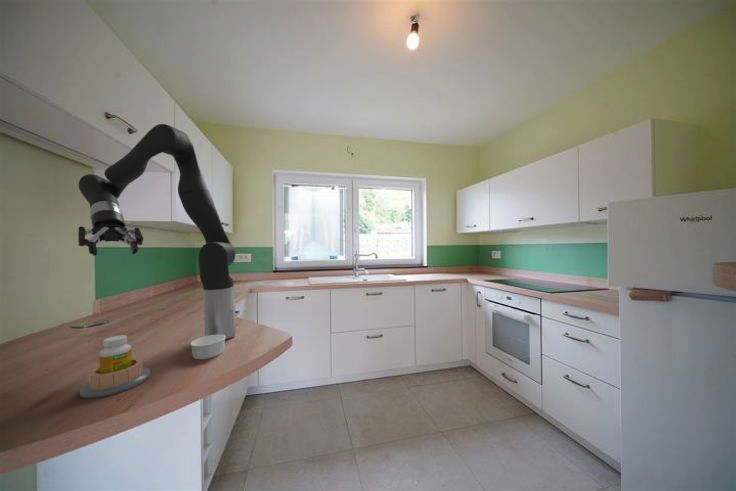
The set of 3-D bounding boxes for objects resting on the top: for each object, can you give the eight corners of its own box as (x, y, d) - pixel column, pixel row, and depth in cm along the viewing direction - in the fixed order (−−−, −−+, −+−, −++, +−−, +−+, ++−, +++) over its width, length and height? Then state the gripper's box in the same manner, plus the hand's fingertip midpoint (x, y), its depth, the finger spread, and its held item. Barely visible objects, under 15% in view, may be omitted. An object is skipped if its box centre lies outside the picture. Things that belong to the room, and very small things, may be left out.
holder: (158, 367, 69) (157, 352, 69) (138, 390, 58) (137, 372, 58) (99, 377, 65) (98, 361, 65) (65, 404, 54) (64, 384, 54)
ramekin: (198, 363, 71) (197, 347, 71) (186, 356, 76) (185, 341, 76) (231, 352, 78) (230, 337, 78) (218, 345, 83) (217, 332, 83)
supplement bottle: (113, 385, 58) (111, 342, 58) (93, 384, 59) (92, 341, 59) (138, 373, 64) (136, 334, 64) (119, 372, 65) (118, 333, 65)
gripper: (75, 207, 78) (81, 244, 71) (137, 210, 89) (148, 243, 82) (74, 225, 81) (79, 263, 74) (134, 227, 93) (144, 260, 86)
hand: (115, 252), depth 78 cm, fingers open, 8 cm apart
